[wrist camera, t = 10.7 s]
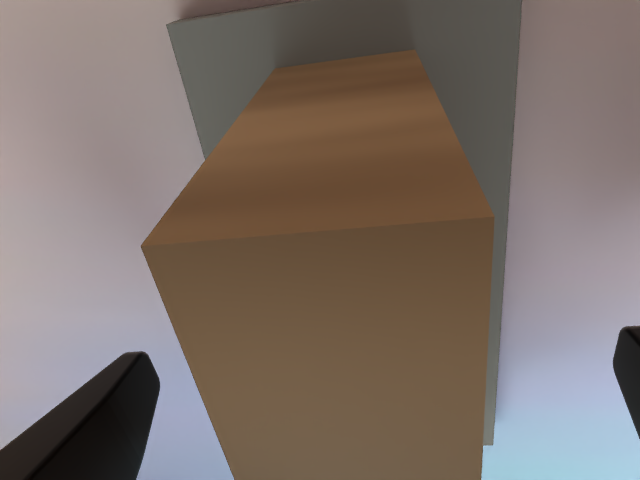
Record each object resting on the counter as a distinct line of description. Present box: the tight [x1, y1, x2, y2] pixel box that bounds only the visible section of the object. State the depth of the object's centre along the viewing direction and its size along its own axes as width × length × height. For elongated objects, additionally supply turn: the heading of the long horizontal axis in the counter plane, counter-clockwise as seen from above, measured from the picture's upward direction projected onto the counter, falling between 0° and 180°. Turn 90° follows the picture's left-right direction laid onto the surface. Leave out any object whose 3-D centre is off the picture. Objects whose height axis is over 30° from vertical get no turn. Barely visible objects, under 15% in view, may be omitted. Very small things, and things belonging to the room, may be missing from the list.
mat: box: [166, 0, 522, 445], centre depth 11 cm, size 12×6×1 cm, turn 9°
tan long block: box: [141, 49, 495, 480], centre depth 8 cm, size 10×2×6 cm, turn 8°
